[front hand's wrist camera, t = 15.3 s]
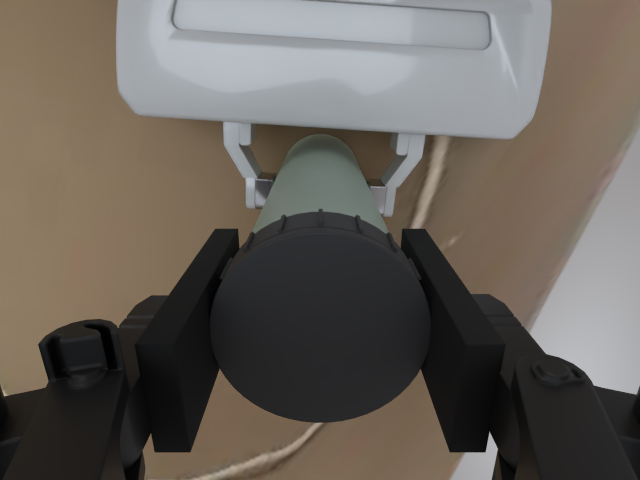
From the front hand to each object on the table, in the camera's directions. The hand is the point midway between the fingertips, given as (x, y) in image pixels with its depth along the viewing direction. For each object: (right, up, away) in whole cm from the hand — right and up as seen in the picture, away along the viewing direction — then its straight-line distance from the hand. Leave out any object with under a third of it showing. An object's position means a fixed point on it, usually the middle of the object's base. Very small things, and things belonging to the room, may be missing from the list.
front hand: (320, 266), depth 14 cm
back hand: (0, +3, +9) cm, 10 cm away
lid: (0, -1, -4) cm, 4 cm away
